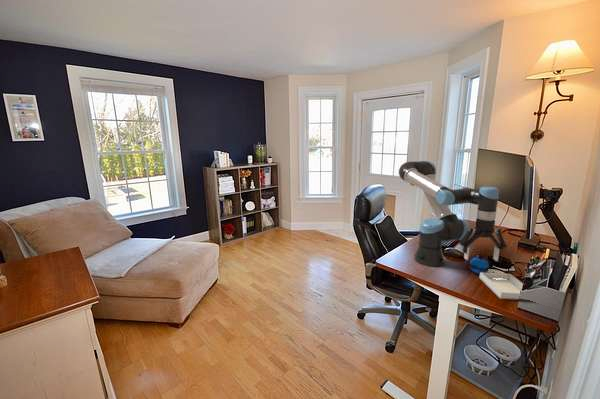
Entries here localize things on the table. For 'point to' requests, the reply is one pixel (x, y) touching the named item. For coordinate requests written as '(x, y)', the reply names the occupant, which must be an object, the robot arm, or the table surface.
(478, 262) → the ornament
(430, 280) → the table surface
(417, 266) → the table surface
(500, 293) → the bin
